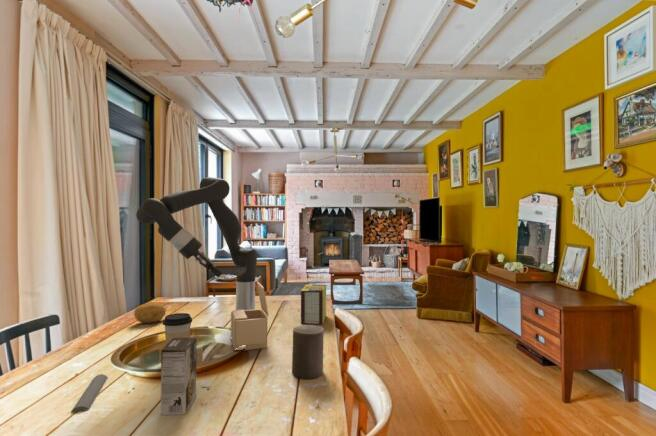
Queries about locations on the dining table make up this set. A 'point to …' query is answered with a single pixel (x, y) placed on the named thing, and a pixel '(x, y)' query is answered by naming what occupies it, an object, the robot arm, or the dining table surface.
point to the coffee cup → (177, 326)
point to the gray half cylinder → (90, 393)
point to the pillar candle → (307, 351)
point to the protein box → (313, 304)
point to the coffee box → (178, 376)
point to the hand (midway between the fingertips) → (220, 275)
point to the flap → (262, 298)
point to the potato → (150, 312)
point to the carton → (249, 329)
